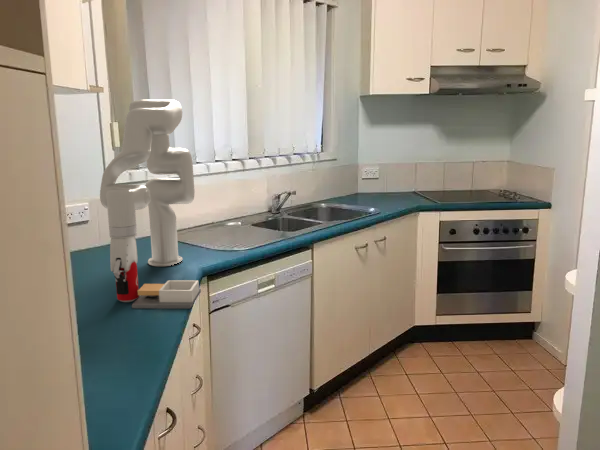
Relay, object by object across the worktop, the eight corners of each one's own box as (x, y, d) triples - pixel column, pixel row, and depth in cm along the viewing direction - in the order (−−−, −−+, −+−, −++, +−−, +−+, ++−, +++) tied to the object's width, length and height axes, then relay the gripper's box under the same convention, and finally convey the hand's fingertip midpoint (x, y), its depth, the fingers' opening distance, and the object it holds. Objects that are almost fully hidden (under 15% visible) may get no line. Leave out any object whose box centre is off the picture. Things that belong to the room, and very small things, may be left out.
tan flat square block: (145, 291, 154) (144, 283, 153) (166, 291, 154) (165, 283, 153) (138, 298, 148) (137, 290, 147) (160, 299, 147) (159, 290, 147)
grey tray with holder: (147, 291, 158) (146, 277, 157) (200, 291, 158) (200, 278, 157) (132, 308, 144) (130, 293, 143) (190, 308, 144) (189, 293, 143)
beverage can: (141, 295, 154) (139, 257, 152) (136, 303, 148) (133, 263, 146) (121, 296, 154) (118, 258, 152) (114, 303, 148) (111, 263, 146)
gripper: (121, 224, 155) (125, 280, 159) (98, 238, 138) (103, 299, 142) (145, 224, 155) (149, 280, 159) (125, 238, 138) (130, 300, 142)
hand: (127, 289), depth 150 cm, fingers open, 6 cm apart
